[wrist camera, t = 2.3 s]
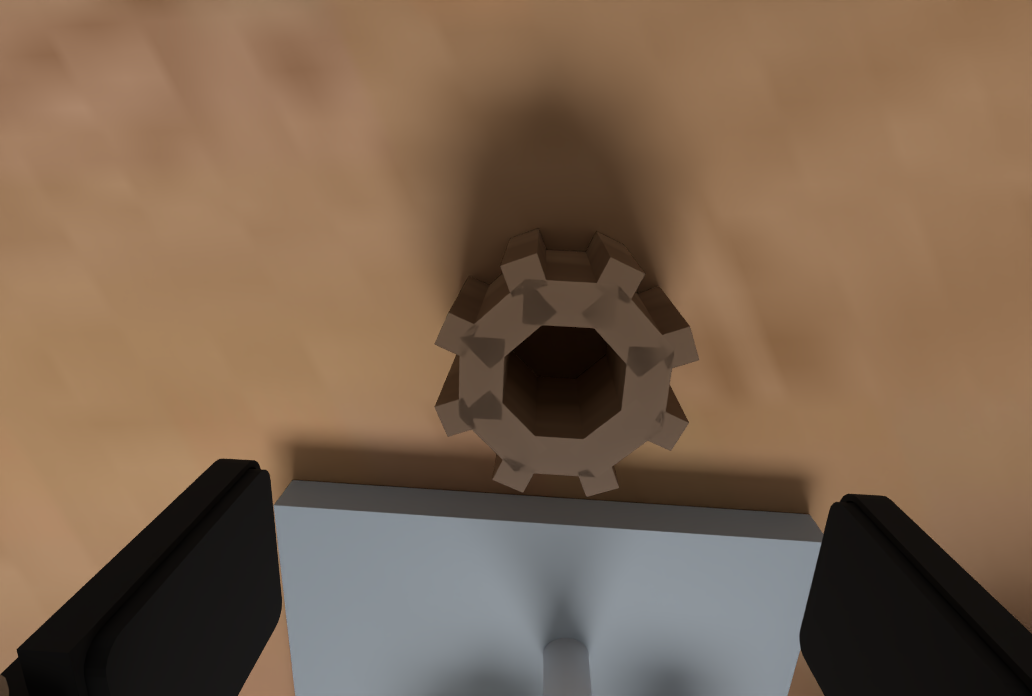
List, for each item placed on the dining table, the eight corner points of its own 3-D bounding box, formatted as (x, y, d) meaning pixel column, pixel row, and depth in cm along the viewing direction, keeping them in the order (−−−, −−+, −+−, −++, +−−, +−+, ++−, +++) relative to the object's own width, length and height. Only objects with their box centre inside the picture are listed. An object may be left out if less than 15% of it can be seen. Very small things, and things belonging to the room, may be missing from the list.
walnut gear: (458, 223, 17) (434, 247, 13) (677, 235, 17) (715, 262, 13) (456, 419, 19) (434, 486, 16) (650, 431, 19) (676, 503, 15)
